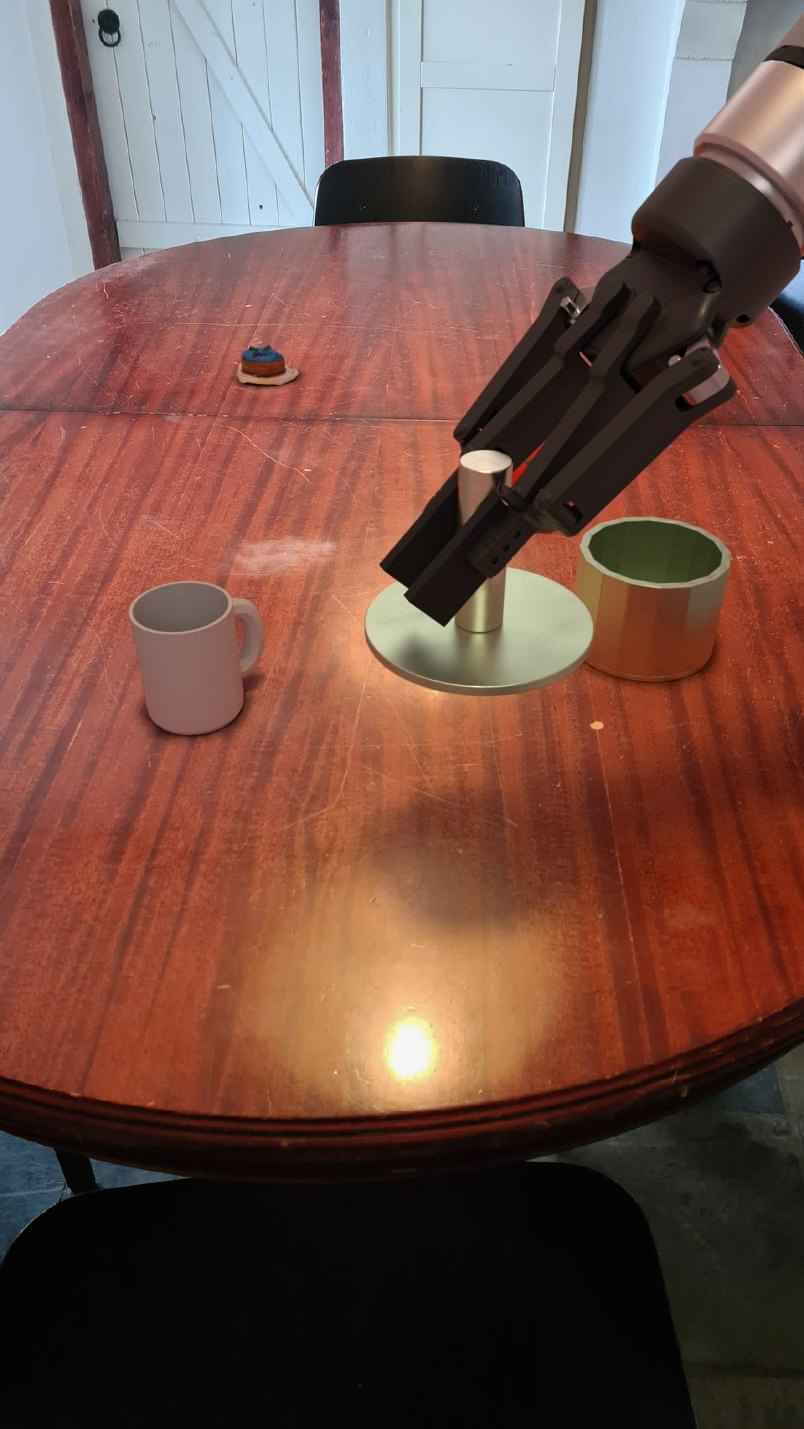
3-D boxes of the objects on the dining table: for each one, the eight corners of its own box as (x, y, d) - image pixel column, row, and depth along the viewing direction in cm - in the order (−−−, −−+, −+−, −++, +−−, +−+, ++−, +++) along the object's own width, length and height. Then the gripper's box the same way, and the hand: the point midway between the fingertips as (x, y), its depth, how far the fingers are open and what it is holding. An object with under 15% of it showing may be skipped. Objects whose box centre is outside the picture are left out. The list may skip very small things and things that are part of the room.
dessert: (224, 377, 133) (235, 332, 133) (244, 392, 139) (255, 349, 139) (280, 389, 131) (292, 343, 131) (298, 404, 138) (309, 360, 137)
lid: (569, 725, 50) (592, 535, 43) (331, 682, 53) (321, 497, 46) (608, 600, 59) (631, 427, 53) (404, 568, 62) (403, 402, 56)
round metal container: (705, 693, 79) (725, 597, 74) (558, 667, 82) (568, 573, 77) (716, 617, 88) (735, 527, 83) (583, 597, 91) (593, 508, 86)
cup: (130, 704, 78) (110, 603, 73) (242, 656, 84) (230, 559, 78) (178, 750, 74) (160, 646, 69) (293, 697, 79) (285, 596, 74)
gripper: (900, 308, 44) (526, 711, 49) (685, 229, 55) (401, 562, 61) (831, 179, 39) (424, 641, 44) (612, 122, 51) (309, 494, 56)
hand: (411, 594), depth 52 cm, fingers closed on lid, 3 cm apart
